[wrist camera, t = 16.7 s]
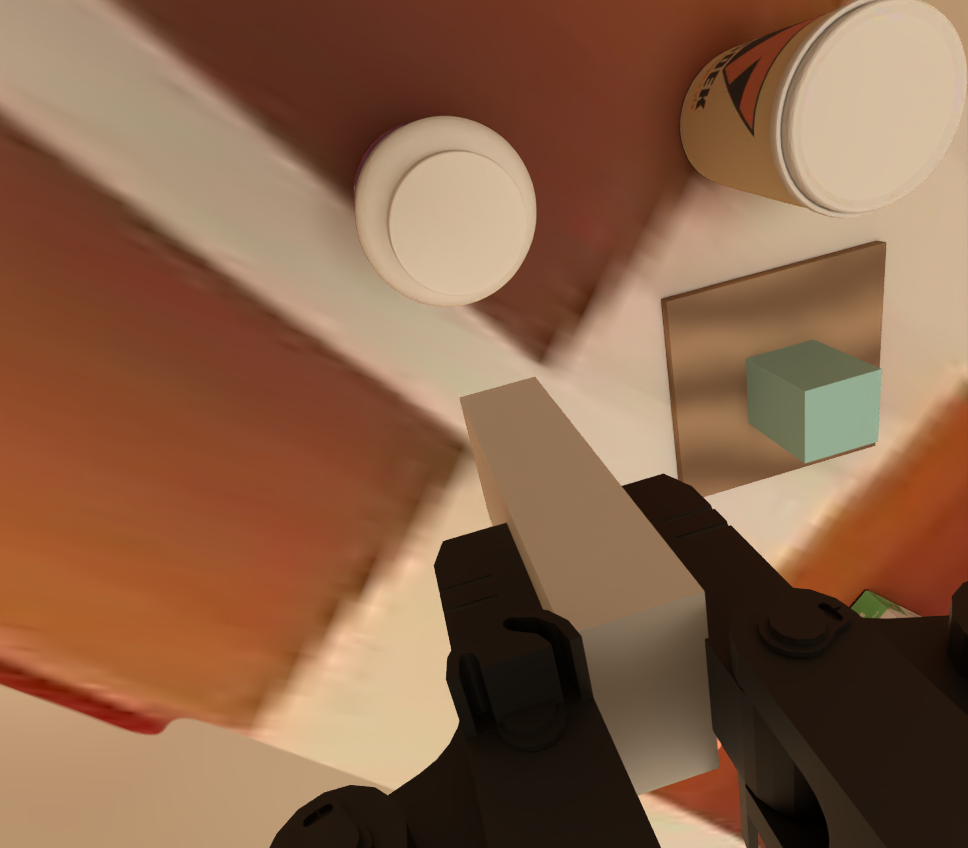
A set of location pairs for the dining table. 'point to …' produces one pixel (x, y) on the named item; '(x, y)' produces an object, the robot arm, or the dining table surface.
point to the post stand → (753, 331)
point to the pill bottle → (444, 210)
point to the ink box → (879, 607)
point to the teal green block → (813, 399)
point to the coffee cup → (831, 108)
